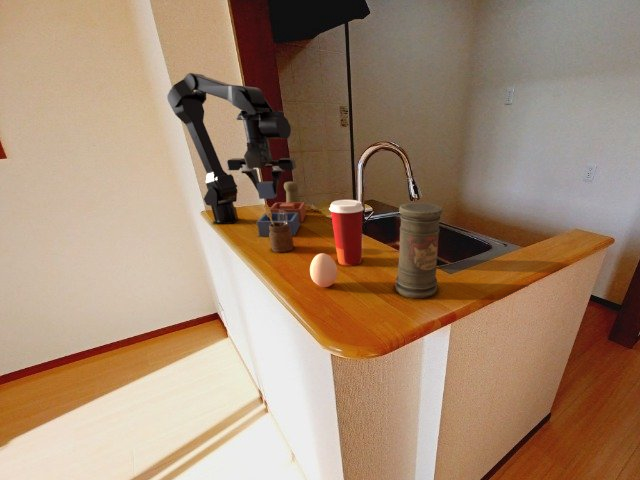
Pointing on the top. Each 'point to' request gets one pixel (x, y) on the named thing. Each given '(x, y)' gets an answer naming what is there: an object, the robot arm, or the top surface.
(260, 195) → the slate block
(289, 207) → the terracotta block
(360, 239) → the coffee cup
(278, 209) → the terracotta bin
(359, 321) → the top surface
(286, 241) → the utensil holder
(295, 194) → the cork
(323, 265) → the egg
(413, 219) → the container
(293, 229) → the blue bin
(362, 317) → the top surface
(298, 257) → the top surface
